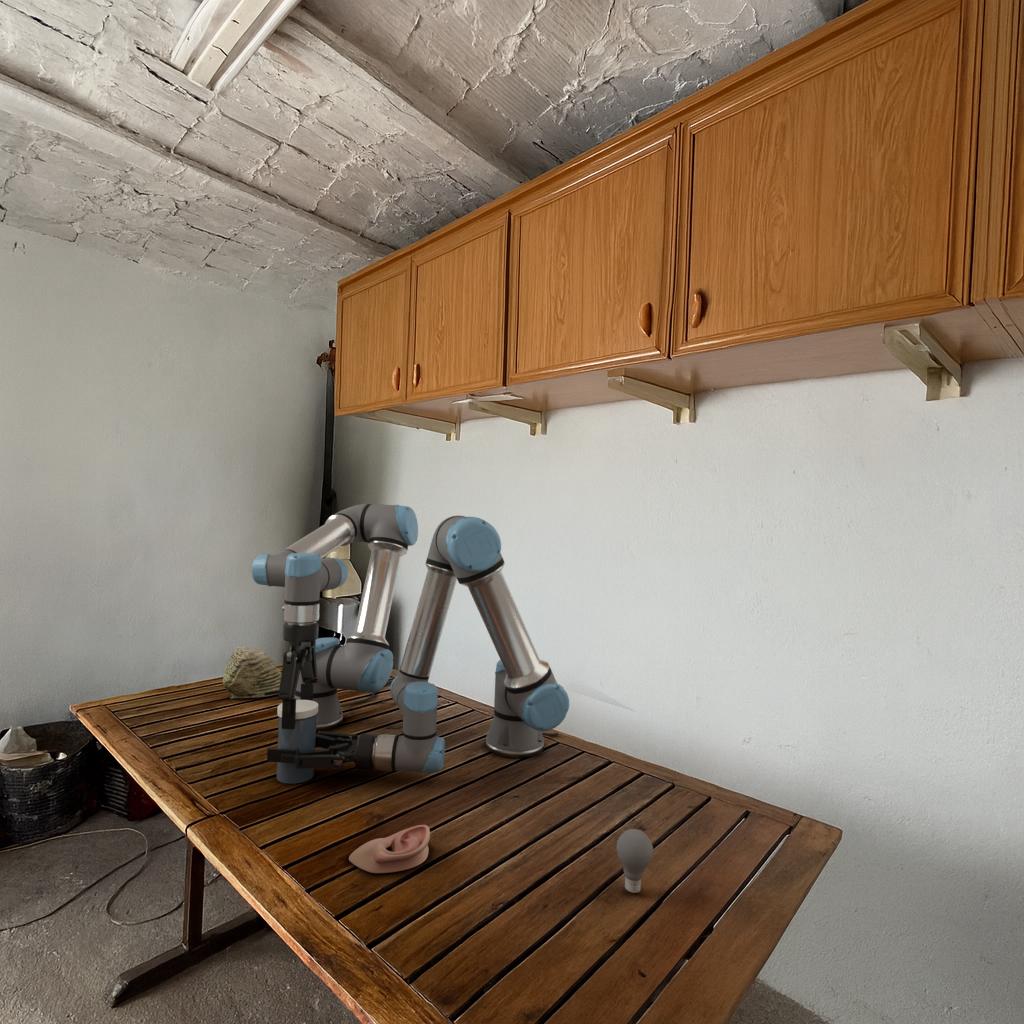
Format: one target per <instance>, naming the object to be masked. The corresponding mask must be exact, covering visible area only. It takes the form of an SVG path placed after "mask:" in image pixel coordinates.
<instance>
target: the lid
mask: <svg viewBox="0 0 1024 1024" xmlns="http://www.w3.org/2000/svg"><path fill="white" fill-rule="evenodd" d="M276 713H277V716H278V718H279V717H281V718H282V702H281V703H279V704H278V705H277V711H276ZM317 713H318V703H317V702H315V701H311V700H296V718H295V719H304V718H308V717H312V716H314V715H316V714H317Z"/></svg>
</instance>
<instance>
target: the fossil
mask: <svg viewBox="0 0 1024 1024" xmlns="http://www.w3.org/2000/svg"><path fill="white" fill-rule="evenodd" d="M281 675H282V671H281V669H279V668H278V667H277V665H276V663H275V662H274V660H273V659H272V658H271V657H270V656H269V655H268V654H267V653H266V652H265V650H264V649H263V648H260V647H258V648H251V647H247V646H246V647H245V646H238V647H237V648H236V649H235V650H233V651H232V653H231V656H230V657H229V659H228V660H227V663H226V666H225V668H224V671H223V675H222V676H223V677H222V685H223V687H224V688H225V690H226V691H228V693H229V698H230V699H250V698H264V697H271V696H275V695H279V688H280V681H281Z"/></svg>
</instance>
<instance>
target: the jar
mask: <svg viewBox="0 0 1024 1024" xmlns="http://www.w3.org/2000/svg"><path fill="white" fill-rule="evenodd" d="M316 719H317V714H316V715H314V716H312V717H308V718H304V719H295V729H282V718H281V717H279V716H278V721H277V722H278V724H277V725H278V726H277V749H298V748H299V752H301V751H310V750H316V748H315V745H316V734H317V732H316ZM315 769H316V768H303V769H297V768H296V763H283V762H276V775H275V776H276V780H277V781H278V782H280V783H282V784H287V785H289V784H290V785H291V784H292V785H293V784H301V783H305V782H308V781H310V780H311V779H312V778H314V776H315V771H316V770H315Z"/></svg>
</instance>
